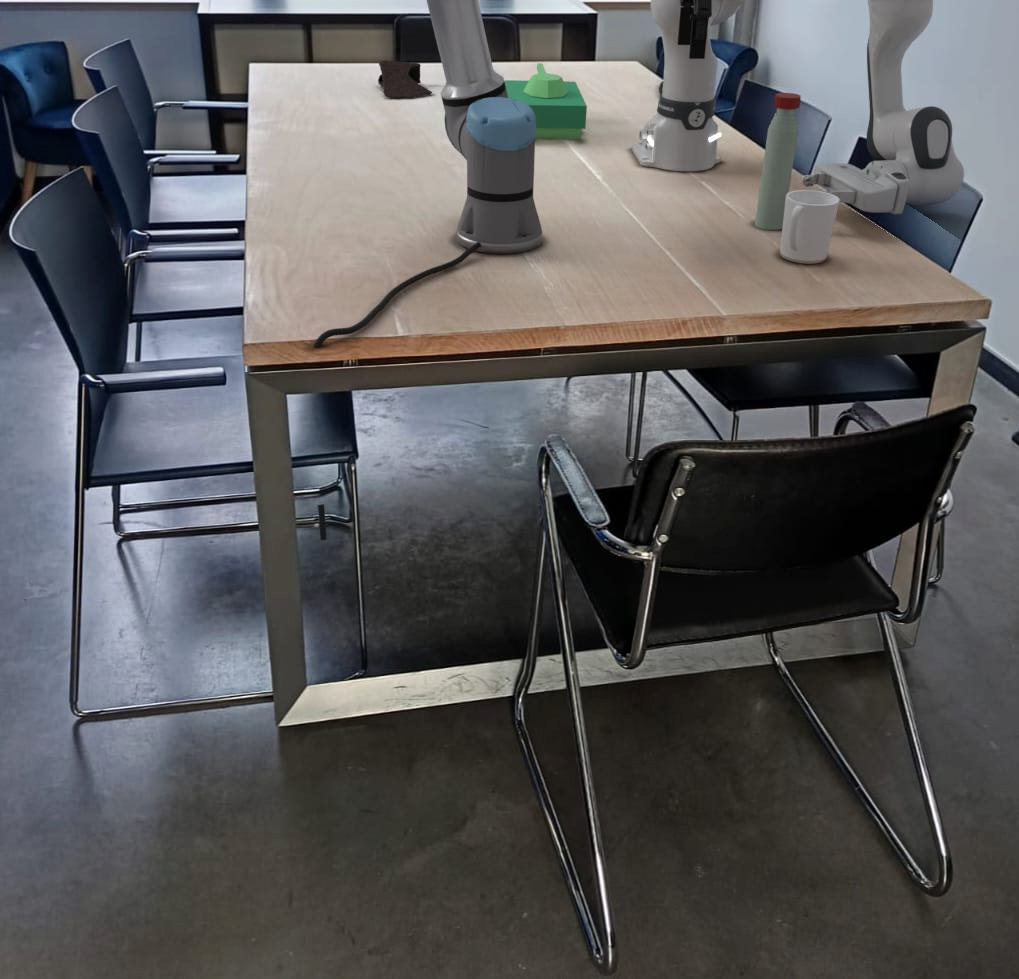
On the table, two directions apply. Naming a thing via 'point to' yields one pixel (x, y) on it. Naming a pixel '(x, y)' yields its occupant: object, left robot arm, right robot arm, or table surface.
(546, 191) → the table surface
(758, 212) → the bottle
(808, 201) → the mug
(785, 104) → the cap
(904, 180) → the right robot arm
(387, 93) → the axe head
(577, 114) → the toy tank
